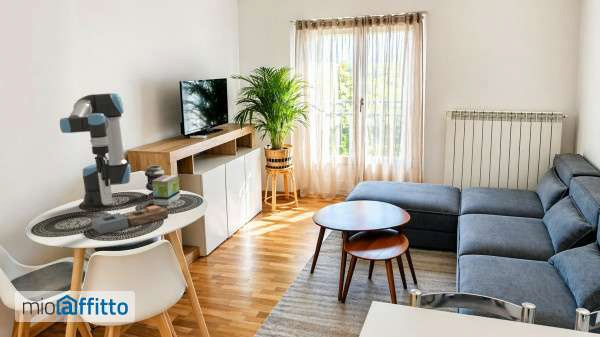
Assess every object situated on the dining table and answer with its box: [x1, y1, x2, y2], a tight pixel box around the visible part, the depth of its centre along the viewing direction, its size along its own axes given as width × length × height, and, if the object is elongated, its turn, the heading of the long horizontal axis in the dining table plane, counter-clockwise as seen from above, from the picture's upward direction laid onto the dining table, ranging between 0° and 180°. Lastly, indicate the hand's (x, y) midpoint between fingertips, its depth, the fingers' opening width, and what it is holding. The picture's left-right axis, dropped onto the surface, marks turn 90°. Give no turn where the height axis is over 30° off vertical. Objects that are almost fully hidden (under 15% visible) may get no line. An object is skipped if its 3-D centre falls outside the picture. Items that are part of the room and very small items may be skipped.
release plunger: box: [145, 204, 159, 213], centre depth 258 cm, size 5×5×5 cm
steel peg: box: [98, 172, 114, 206], centre depth 240 cm, size 4×4×16 cm
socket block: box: [122, 205, 169, 227], centre depth 256 cm, size 12×20×4 cm, turn 130°
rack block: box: [91, 212, 129, 235], centre depth 244 cm, size 12×14×5 cm
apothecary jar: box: [144, 164, 165, 197], centre depth 302 cm, size 12×12×18 cm
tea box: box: [152, 174, 181, 206], centre depth 286 cm, size 15×10×15 cm, turn 168°
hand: (105, 191), depth 240 cm, fingers closed on steel peg, 4 cm apart
